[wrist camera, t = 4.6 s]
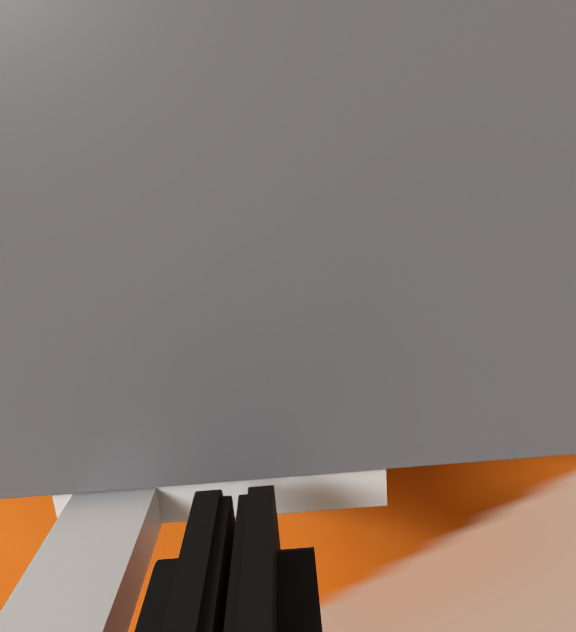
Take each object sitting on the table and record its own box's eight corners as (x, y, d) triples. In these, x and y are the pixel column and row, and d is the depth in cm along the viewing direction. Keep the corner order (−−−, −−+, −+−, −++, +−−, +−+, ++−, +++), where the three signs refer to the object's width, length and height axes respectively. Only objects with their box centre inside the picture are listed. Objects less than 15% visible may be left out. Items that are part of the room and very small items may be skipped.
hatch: (348, 360, 20) (438, 618, 9) (350, 392, 20) (438, 680, 9) (130, 377, 20) (-59, 655, 9) (136, 409, 20) (-39, 717, 9)
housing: (563, -30, 18) (895, -251, 8) (541, 353, 21) (752, 509, 12) (-102, 25, 18) (-540, -131, 8) (-9, 397, 21) (-236, 586, 12)
